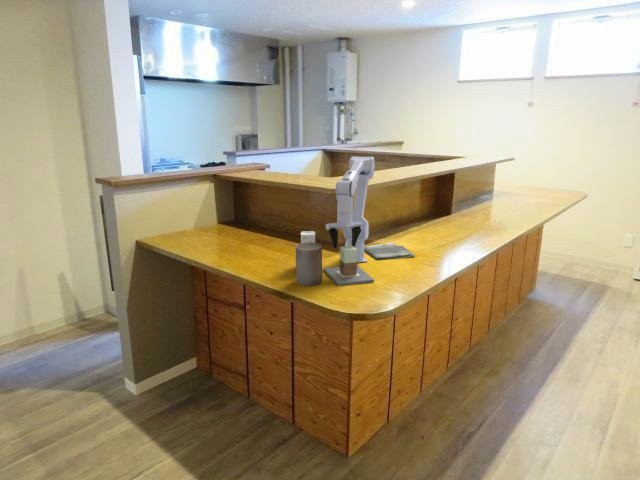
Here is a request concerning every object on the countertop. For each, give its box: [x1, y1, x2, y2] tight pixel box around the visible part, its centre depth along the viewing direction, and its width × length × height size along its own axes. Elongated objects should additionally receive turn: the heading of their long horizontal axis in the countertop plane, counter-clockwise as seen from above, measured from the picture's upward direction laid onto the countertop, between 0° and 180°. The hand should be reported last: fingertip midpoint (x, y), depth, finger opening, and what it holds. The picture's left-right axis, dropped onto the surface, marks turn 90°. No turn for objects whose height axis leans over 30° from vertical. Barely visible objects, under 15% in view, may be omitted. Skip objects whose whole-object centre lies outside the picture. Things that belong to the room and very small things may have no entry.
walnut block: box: [339, 259, 358, 276], centre depth 172 cm, size 5×5×5 cm
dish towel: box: [364, 241, 416, 261], centre depth 203 cm, size 19×18×3 cm
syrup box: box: [300, 230, 316, 244], centre depth 182 cm, size 6×6×14 cm
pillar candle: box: [294, 242, 323, 287], centre depth 165 cm, size 10×10×15 cm
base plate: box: [323, 265, 375, 286], centre depth 173 cm, size 18×14×1 cm
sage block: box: [339, 246, 358, 263], centre depth 171 cm, size 5×5×5 cm
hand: (344, 246), depth 175 cm, fingers open, 7 cm apart
